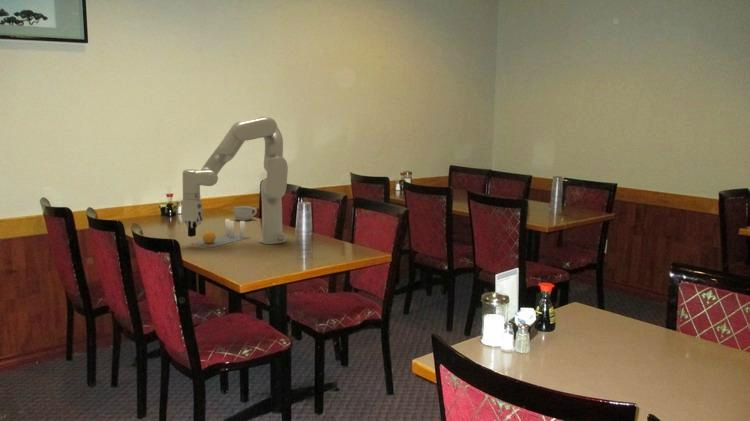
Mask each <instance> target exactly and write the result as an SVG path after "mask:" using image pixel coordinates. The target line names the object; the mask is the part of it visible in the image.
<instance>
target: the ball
mask: <svg viewBox="0 0 750 421" xmlns="http://www.w3.org/2000/svg"><path fill="white" fill-rule="evenodd" d="M216 237H217V236H216V234H215V232H213V231H211V230H207V231H205V232H203V234H202V240H203V241H204V242H205V243H207V244H210V243H213V242H214V241H215V238H216Z"/></svg>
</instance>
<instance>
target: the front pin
mask: <svg viewBox="0 0 750 421" xmlns="http://www.w3.org/2000/svg"><path fill="white" fill-rule="evenodd" d="M234 235H235V221H234V220H230V221H229V238H234Z"/></svg>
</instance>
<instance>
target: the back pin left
mask: <svg viewBox="0 0 750 421" xmlns="http://www.w3.org/2000/svg"><path fill="white" fill-rule="evenodd" d="M239 233H240V234H239V235H240V238H245V236H246V221H239Z"/></svg>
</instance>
